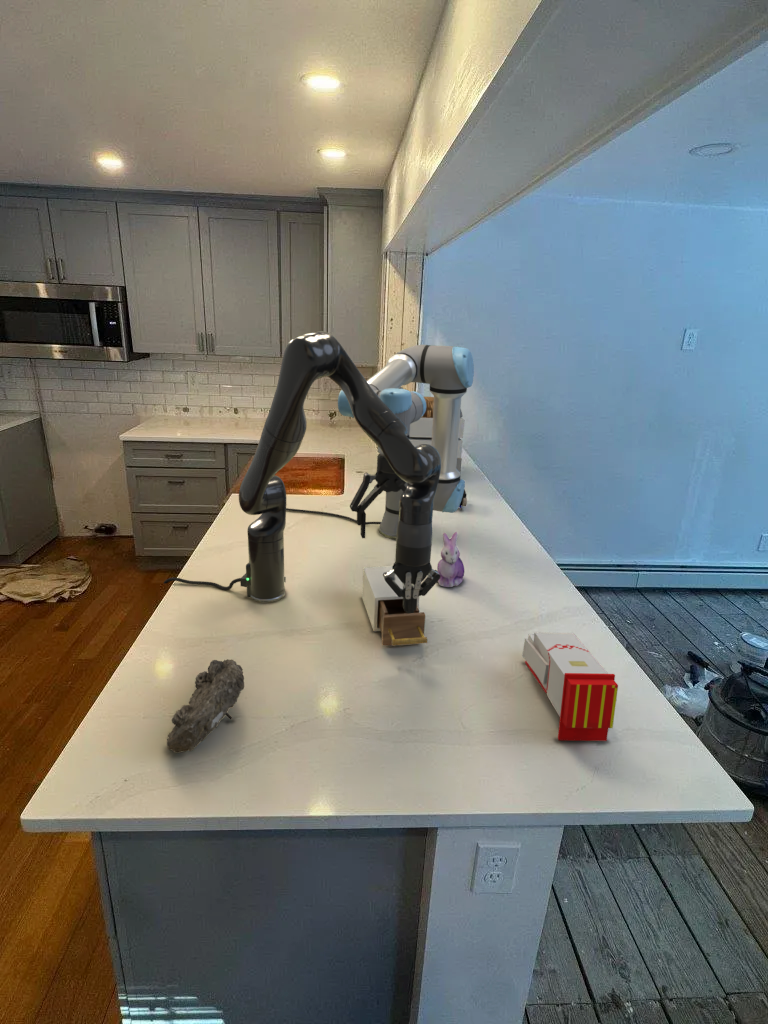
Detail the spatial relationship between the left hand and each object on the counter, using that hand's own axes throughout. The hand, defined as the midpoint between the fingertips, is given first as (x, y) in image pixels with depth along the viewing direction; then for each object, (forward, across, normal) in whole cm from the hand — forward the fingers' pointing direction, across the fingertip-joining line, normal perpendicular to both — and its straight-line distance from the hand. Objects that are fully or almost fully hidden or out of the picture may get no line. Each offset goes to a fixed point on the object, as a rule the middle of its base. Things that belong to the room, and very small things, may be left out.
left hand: (409, 611), depth 126 cm
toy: (+12, +29, -18) cm, 36 cm away
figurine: (+12, +22, +36) cm, 43 cm away
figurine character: (+12, +45, +100) cm, 111 cm away
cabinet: (+12, 0, +20) cm, 23 cm away
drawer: (+11, 0, +9) cm, 14 cm away
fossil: (+12, -42, -14) cm, 46 cm away
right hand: (-8, 0, +24) cm, 25 cm away
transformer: (+12, +43, +149) cm, 155 cm away
